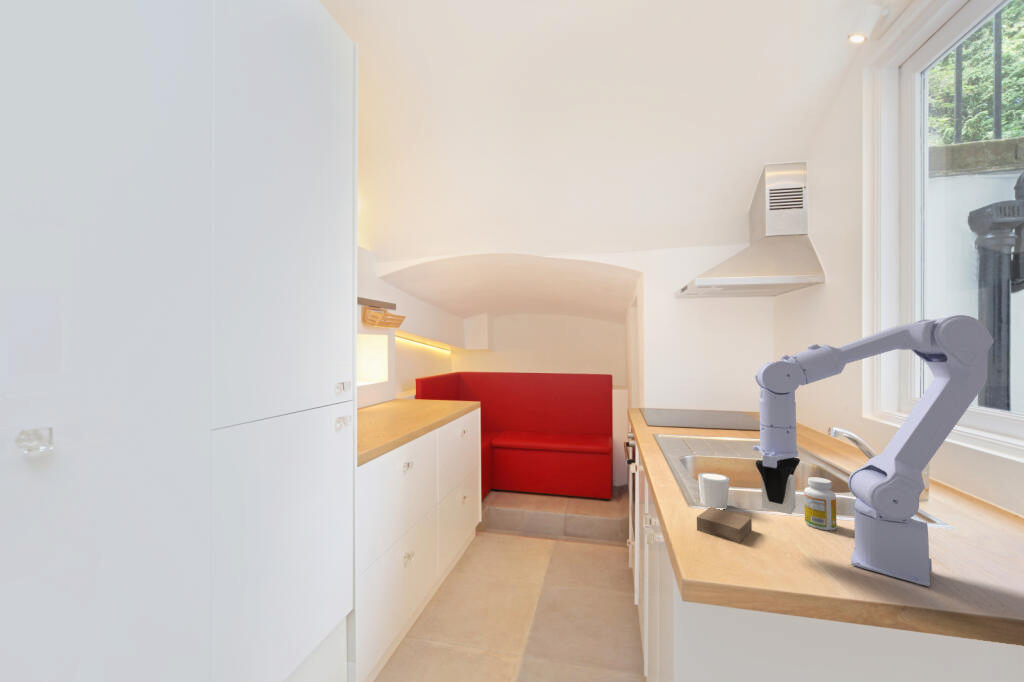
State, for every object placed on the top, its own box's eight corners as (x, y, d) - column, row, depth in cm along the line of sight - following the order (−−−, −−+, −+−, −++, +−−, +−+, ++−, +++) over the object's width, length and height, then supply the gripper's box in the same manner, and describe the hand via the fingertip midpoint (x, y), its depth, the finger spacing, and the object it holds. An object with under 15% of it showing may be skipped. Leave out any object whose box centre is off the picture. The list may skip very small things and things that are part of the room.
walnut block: (751, 532, 83) (751, 517, 83) (739, 545, 77) (739, 529, 77) (710, 520, 88) (710, 507, 89) (696, 531, 83) (696, 516, 83)
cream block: (795, 507, 75) (795, 475, 75) (791, 514, 72) (790, 480, 72) (767, 501, 78) (767, 470, 78) (761, 507, 75) (761, 475, 75)
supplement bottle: (825, 521, 88) (824, 476, 88) (843, 531, 82) (842, 484, 83) (799, 520, 88) (798, 475, 89) (815, 530, 83) (814, 483, 83)
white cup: (732, 513, 92) (732, 482, 92) (699, 508, 94) (699, 478, 95) (727, 502, 98) (727, 474, 99) (697, 499, 101) (696, 470, 101)
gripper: (762, 418, 83) (763, 484, 83) (743, 427, 73) (744, 503, 72) (803, 423, 78) (805, 493, 78) (789, 433, 68) (791, 514, 67)
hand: (778, 498), depth 75 cm, fingers closed on cream block, 4 cm apart
